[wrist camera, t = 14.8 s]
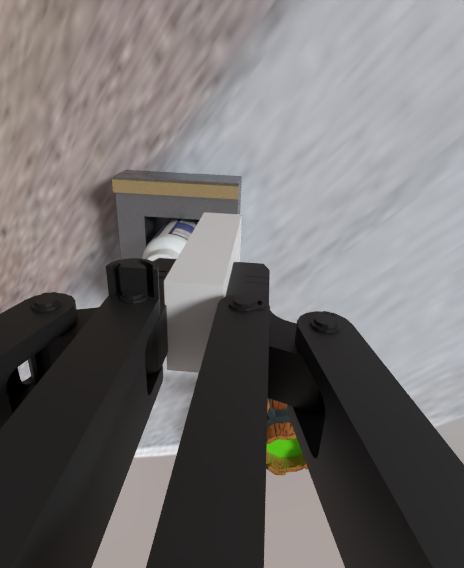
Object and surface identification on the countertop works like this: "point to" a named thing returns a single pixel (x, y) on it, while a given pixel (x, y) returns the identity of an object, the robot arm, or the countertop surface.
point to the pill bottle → (170, 239)
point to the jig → (167, 203)
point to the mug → (282, 441)
